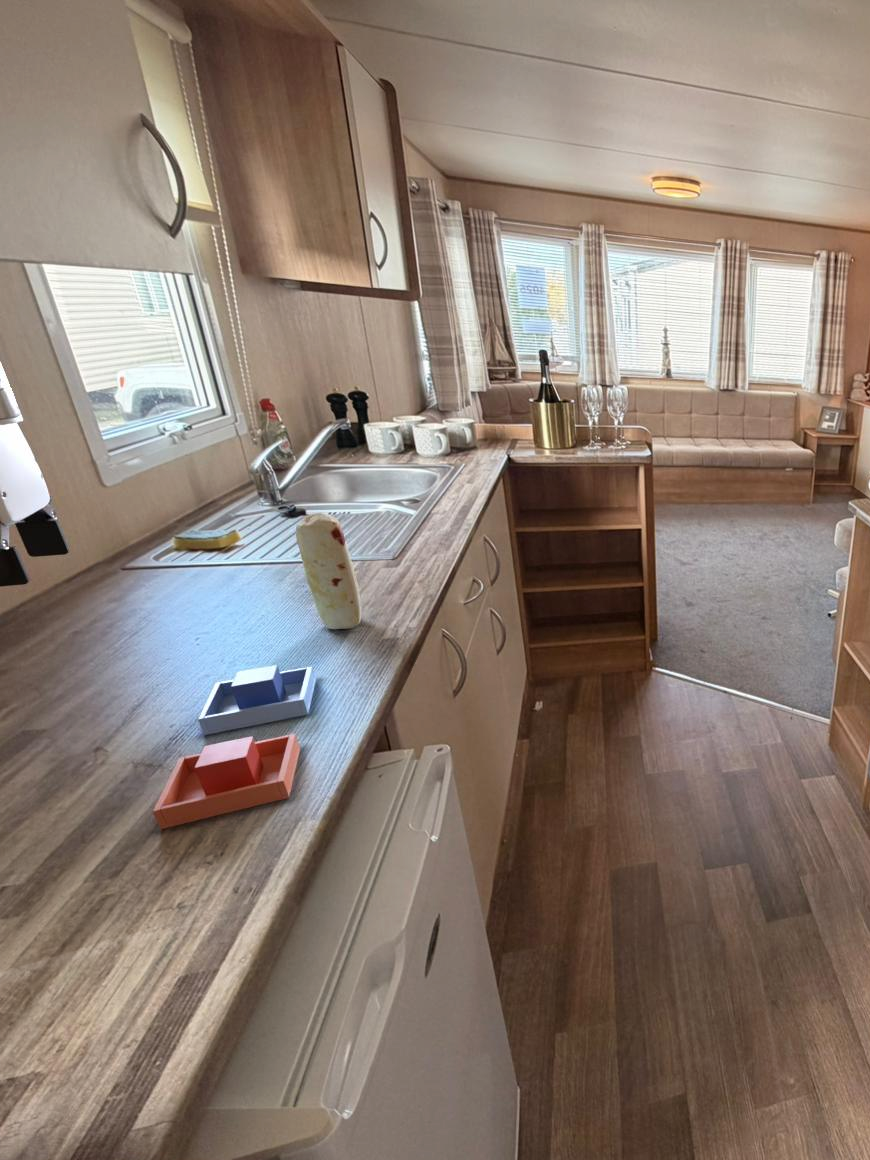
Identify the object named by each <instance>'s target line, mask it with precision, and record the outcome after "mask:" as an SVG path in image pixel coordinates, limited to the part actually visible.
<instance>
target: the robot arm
mask: <svg viewBox="0 0 870 1160" xmlns="http://www.w3.org/2000/svg"><path fill="white" fill-rule="evenodd" d="M23 421H24V418H23V416H22V412H21V411H20V408H19V406H18V403H17V401H16V398H15V396H14V393H13V391H12V388H11V387H10V383H9V380H8V378H7V376H6V373H5V371H4V368H3V366H2V363H1V362H0V587H1V588H2V587H12V586H24V585H27V584H28V583H30V581H31V578H30V576H29V574H28V572H27V569H26V566H25V565H24V563H23V559H22V558H21V555H20V553H19V551H18V548H17V546H16V545H15V546H10V526H13V525H15V527H16V530H17V532H18V534H19V537H20V539H21V541H22V544H23V546H24V548H25V550H26V553H27V555H28V556H29V557H32V558H37V557H49V556H50V557H51V556H65V555H68V554H69V553H70V551H71V550H70V547H69V545H68V542H67V540H66V537H65V536H64V532H63V530H62V528H61V525H60V523H59V520H58V519H57V518H58V513H57V511H56V509H54V508H53V507H52V505H51V503H52V501H53V499H52V496H51V495H50V493H49V489H48V486H47V484H46V483H47V482H46V479H45V477H44V476H43V473H42V471H41V469H40V466H39V464H38V462H37V459H36V458H35V455H34V454H33V452H32V449H31V447H30V446H29V445H30V444H29V443H28V441H27V439H26V438H25V436H24V434H23V432H22V430H21V428H20V426H19V424H18V423H20V422H23Z"/></svg>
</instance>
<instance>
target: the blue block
mask: <svg viewBox="0 0 870 1160" xmlns="http://www.w3.org/2000/svg"><path fill="white" fill-rule="evenodd" d="M280 672H281V671H280V668H279V665H278V664H275V665H269V666H268V665H267V666H263V667H256V668H250V669H244V670H239V671H237V672H236V674H235V676H234V679H233V680H234V681H233V683H232V685H231V689H232V691H233V694H234V697H235V700H236V702H237V705H238V708H239V710H241V709H246V708H251V707H257V706H262V705H267V704H272V703H278V702H283V700H284V697H285V693H286V689H285V686H284V683H283V680H282V677H281V674H280Z"/></svg>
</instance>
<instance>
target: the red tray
mask: <svg viewBox="0 0 870 1160" xmlns="http://www.w3.org/2000/svg"><path fill="white" fill-rule="evenodd" d="M255 744H256V746H257V749H258V752H259V755H260V758H261V760H262V763H263V769H262V773H261V776H260V779H259V783H258V784H256V785H251V786H247V787H243V788H239V789H234V790H230V791H226V792H222V793H217V794H213V795H209V796H206V795H205V793H204V790H203V788H202V785H201V783H200V781H199V778H198V776H197V773H196V771H195V769H194V768H195V766H196V763H197V761H198V759H199V757H200V754H201V752H200V753H195V754H190V755H186V756H180V757H178V758H177V761H176V763H175V765H174V767H173V769H172V771H171V772H170V775H169V777H168V779H167V781H166V783H165V786H164V787H163V789H162V791H161V794H160V796H159V798H158V800H157V801H156V804H155V806H154V807H153V810H152V814H153V816H154V819H155V820H156V822H157V825H158V826H159V828H160V830H164V829H168V828H172V827H176V826H180V825H184V824H188V823H193V822H196V821H200V820H204V819H205V820H206V819H209V818H212V817H215V816H220V815H225V814H229V813H232V812H233V813H234V812H237V811H241V810H245V809H248V808H254V807H257V806H260V805H265V804H269V803H273V802H277V801H282V800H284V799H285V800H286V799H289V798H290V795H291V791H292V787H293V783H294V779H295V775H296V770H297V766H298V761H299V757H300V752H301V748H300V744H299V741H298V738H297V735H296V733H290V734H287V735H286V734H285V735H282V736H277V737H271V738H268V739H262V740H258V741H255Z"/></svg>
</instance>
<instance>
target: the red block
mask: <svg viewBox="0 0 870 1160" xmlns="http://www.w3.org/2000/svg"><path fill="white" fill-rule="evenodd" d="M255 742H256V740H255V738H254V736H252V735H251V736H247V737H242V738H238V739H231V740H226V741H222V742H218V743H217V742H216V743H213V744H208V745H204V746H203V748H202V749H201V752H200V753H201V754H200V753H199V754H200V757H199V759H198V761H197V763H196V766H195V768H194V769H195V771H196V773H197V776H198V778H199V781H200V783H201V785H202V788H203V790H204V793H205V795H206V796H209V795H213V794H217V793H222V792H226V791H230V790H234V789H239V788H243V787H247V786H251V785H256V784H258V783H259V779H260V776H261V773H262V769H263V763H262V760H261V758H260V755H259V752H258V749H257V746H256V744H255Z"/></svg>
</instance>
